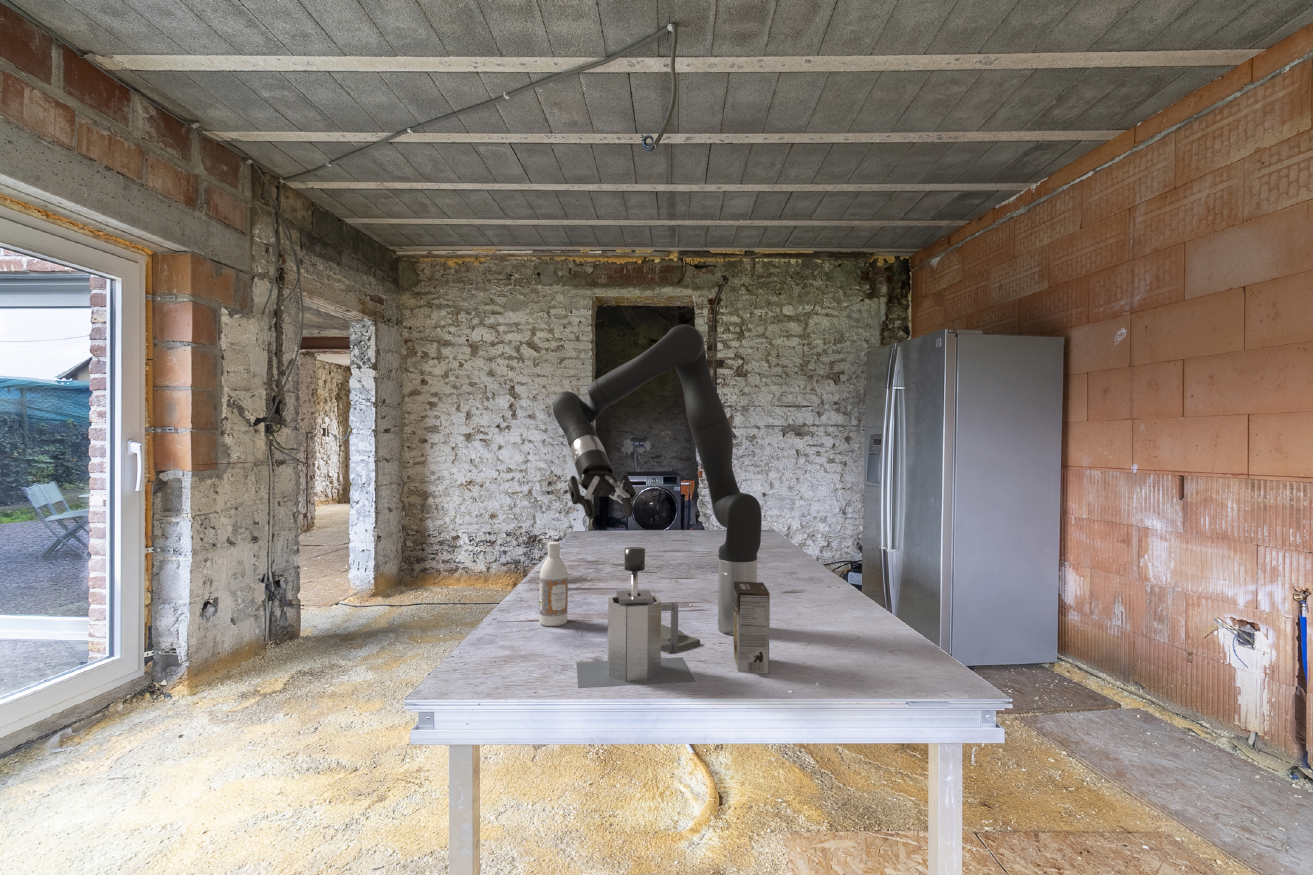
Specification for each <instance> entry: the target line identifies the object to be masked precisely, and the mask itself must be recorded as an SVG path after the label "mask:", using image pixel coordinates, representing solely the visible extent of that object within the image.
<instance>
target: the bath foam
mask: <svg viewBox="0 0 1313 875" xmlns="http://www.w3.org/2000/svg"><path fill="white" fill-rule="evenodd" d="M560 556H561V543H560V542H559V541H549V542H548V543H547V557H546V560H545V561H544V563H543V564H542V567H541V568H540V571H539V572H540V573H539V586H538V587H539V589H538V590H539V594H538V595H539V599H538V600H539V604H538V605H539V606H538V610H539V611H538V612H539V613H538V616H539V617H538V618H539V619H538V622H539V624H540V625H542V626H543V627H544V626H545V627H558V626H563V625H565V624H566V623H567V622H568V606H569V605H568V597H569V596H568V594H569V593H568V592H569V588H568V587H569V586H568V582H569V581H568V580H569V578H568V577H569V575H568V574H569V573H568V569H567V566H566V564H565V563H564V561H563V560H562V558H561V557H560Z"/></svg>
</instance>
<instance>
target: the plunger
mask: <svg viewBox="0 0 1313 875" xmlns="http://www.w3.org/2000/svg"><path fill="white" fill-rule="evenodd" d="M623 570H625V571H628V572H631V589H630V591H631V596H638V590H639V589H638V588H639V587H638V586H639V585H638V581H639V580H638V578H639V575H638V574H639V572H641V571H642V572H643V571H645V570H646V548H645V547H643V546H628V547H625V548H624V569H623ZM631 606H637V604H631Z"/></svg>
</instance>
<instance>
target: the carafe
mask: <svg viewBox="0 0 1313 875" xmlns="http://www.w3.org/2000/svg"><path fill="white" fill-rule="evenodd" d="M631 604H637V606H631ZM662 612H670V627H671V642H661V624H662ZM678 630H679V603H678V602H677V601H675V602H662V601H661V599H660V597H659V596H658V595H654V594H653V595H652V593H651V592H650V590H649V589H643V590H639V589H638V596H631V590H616V591H615V595H613V596H610V597H608V599H607V661H608V673H609V677H611V678H615V679H618V680H621V681H624V682H626V681H627V682H636V681H647V680H648V681H649V680H651V679H652V678H654V677H656V676H658V675H660V674H661V658H662V652H663V651H675V650H678Z"/></svg>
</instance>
